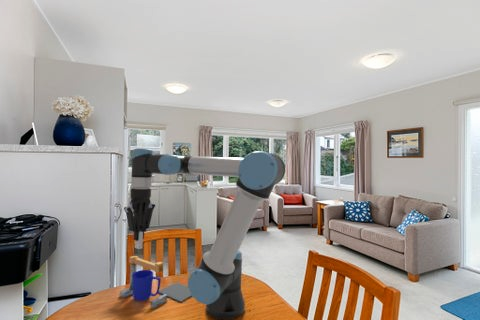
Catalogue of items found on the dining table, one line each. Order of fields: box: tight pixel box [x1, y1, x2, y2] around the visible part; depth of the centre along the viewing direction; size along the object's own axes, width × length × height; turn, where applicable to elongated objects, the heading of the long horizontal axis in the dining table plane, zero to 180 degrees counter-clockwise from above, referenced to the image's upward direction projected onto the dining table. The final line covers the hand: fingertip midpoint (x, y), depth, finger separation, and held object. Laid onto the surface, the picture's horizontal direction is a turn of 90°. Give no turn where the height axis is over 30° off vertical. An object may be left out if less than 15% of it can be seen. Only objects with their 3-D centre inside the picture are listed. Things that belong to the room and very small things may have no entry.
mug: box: [132, 269, 162, 302], centre depth 108 cm, size 8×12×10 cm
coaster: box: [158, 281, 193, 304], centre depth 114 cm, size 14×11×1 cm
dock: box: [119, 263, 168, 310], centre depth 108 cm, size 19×10×12 cm, turn 58°
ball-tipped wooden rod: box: [128, 255, 164, 273], centre depth 109 cm, size 19×4×3 cm, turn 58°
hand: (138, 248), depth 102 cm, fingers closed
